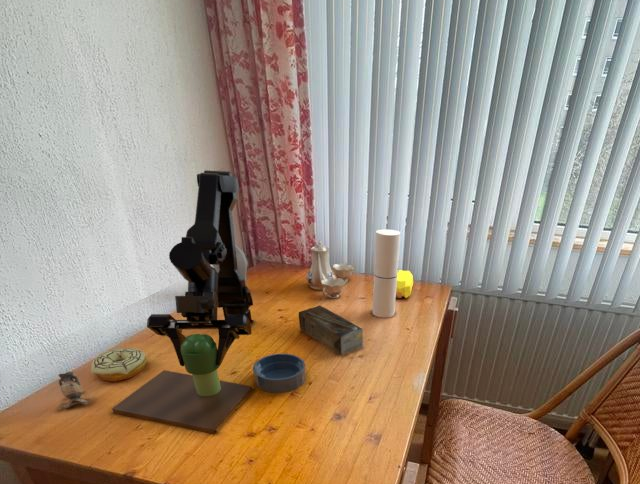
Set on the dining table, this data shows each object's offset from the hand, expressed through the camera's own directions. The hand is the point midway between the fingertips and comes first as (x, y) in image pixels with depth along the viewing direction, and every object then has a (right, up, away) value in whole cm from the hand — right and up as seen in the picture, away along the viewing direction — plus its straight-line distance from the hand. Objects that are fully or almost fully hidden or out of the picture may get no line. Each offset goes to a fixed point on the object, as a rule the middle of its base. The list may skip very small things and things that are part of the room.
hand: (200, 365), depth 77 cm
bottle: (-14, +27, +54) cm, 62 cm away
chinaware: (+17, +32, +64) cm, 73 cm away
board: (-4, -7, +3) cm, 9 cm away
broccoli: (-1, -5, +5) cm, 7 cm away
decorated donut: (-24, -1, +11) cm, 26 cm away
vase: (-26, -7, +2) cm, 27 cm away
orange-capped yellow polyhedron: (+43, +30, +64) cm, 83 cm away
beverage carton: (+22, +9, +30) cm, 38 cm away
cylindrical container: (+37, +19, +47) cm, 63 cm away
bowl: (+13, -3, +12) cm, 18 cm away
